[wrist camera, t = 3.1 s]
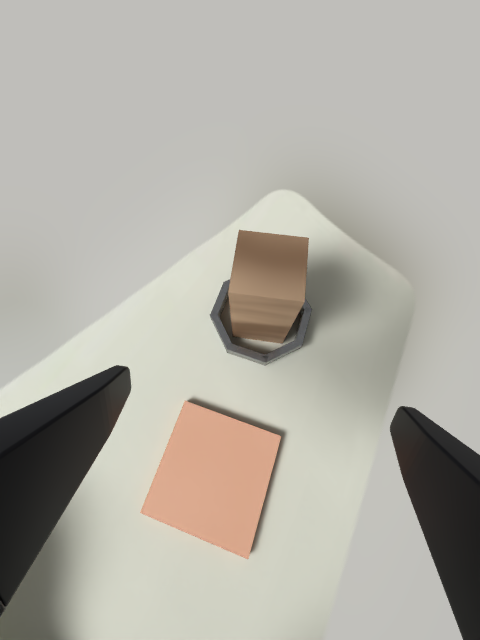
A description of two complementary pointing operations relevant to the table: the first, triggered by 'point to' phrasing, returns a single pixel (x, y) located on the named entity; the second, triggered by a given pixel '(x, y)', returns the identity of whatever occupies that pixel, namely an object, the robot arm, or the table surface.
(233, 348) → the metal ring
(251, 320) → the walnut block
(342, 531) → the table surface
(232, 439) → the terracotta mat
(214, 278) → the table surface
